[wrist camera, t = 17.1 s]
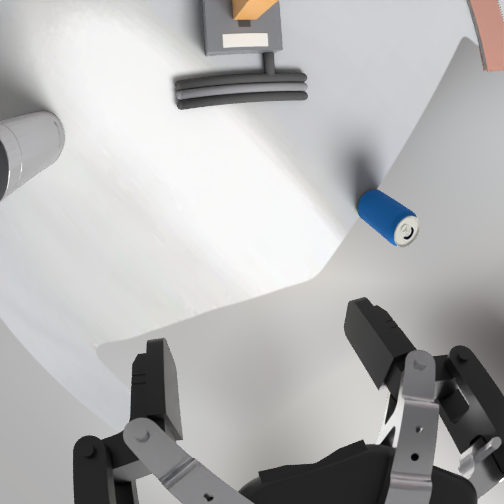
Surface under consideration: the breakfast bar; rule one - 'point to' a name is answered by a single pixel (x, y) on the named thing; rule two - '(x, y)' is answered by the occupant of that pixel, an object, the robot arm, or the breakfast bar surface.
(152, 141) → the breakfast bar surface
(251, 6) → the handle
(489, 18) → the notebook
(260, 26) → the breaker box
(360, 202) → the beverage can
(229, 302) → the breakfast bar surface
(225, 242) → the breakfast bar surface
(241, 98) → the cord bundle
